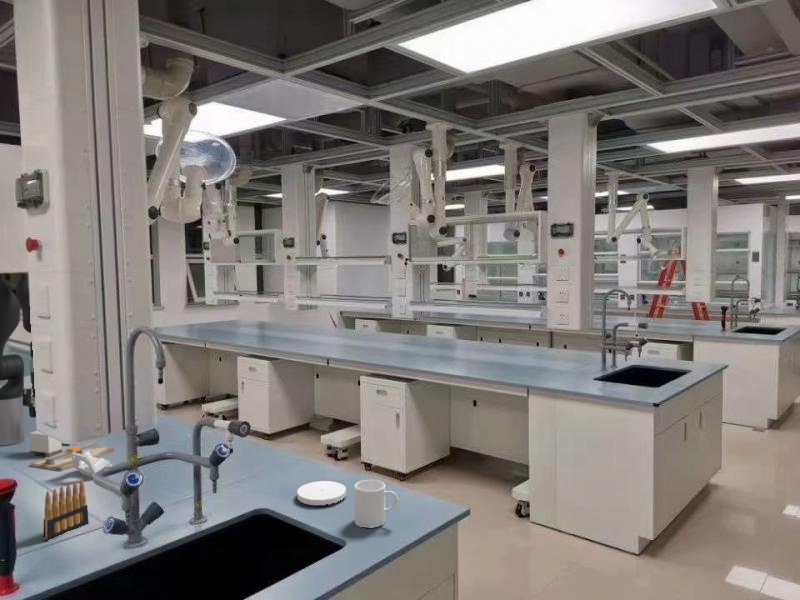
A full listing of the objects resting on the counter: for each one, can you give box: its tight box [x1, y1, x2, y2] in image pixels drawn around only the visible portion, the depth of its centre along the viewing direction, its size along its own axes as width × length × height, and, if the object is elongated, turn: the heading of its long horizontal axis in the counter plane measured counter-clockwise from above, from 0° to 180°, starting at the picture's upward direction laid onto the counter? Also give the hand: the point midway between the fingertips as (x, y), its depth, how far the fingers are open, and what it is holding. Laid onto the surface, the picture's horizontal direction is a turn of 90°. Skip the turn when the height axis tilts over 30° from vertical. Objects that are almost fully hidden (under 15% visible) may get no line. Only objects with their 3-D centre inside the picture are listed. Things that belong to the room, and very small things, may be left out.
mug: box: [353, 479, 400, 527], centre depth 147 cm, size 8×12×10 cm, turn 71°
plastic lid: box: [296, 480, 347, 506], centre depth 163 cm, size 14×14×2 cm
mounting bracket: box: [71, 451, 113, 478], centre depth 182 cm, size 12×6×11 cm, turn 62°
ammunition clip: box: [43, 478, 90, 541], centre depth 142 cm, size 11×2×12 cm, turn 154°
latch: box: [65, 445, 81, 453], centre depth 197 cm, size 3×3×1 cm
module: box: [29, 430, 63, 458], centre depth 201 cm, size 9×5×8 cm, turn 71°
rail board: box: [30, 442, 115, 471], centre depth 197 cm, size 14×21×2 cm, turn 161°
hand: (44, 414), depth 200 cm, fingers open, 8 cm apart
